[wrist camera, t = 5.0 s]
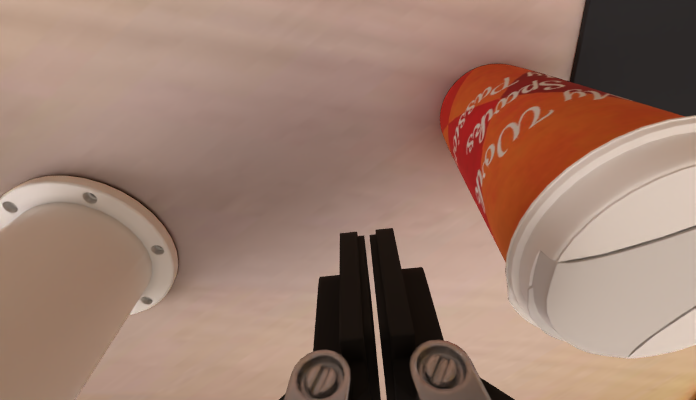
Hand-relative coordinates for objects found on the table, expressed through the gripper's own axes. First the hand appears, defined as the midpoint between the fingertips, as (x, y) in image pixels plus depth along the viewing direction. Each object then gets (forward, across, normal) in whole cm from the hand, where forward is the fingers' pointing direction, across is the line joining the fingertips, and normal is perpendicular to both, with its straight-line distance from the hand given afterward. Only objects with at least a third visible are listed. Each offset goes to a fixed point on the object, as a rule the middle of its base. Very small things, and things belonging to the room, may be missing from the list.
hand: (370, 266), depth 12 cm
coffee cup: (+14, -8, 0) cm, 16 cm away
